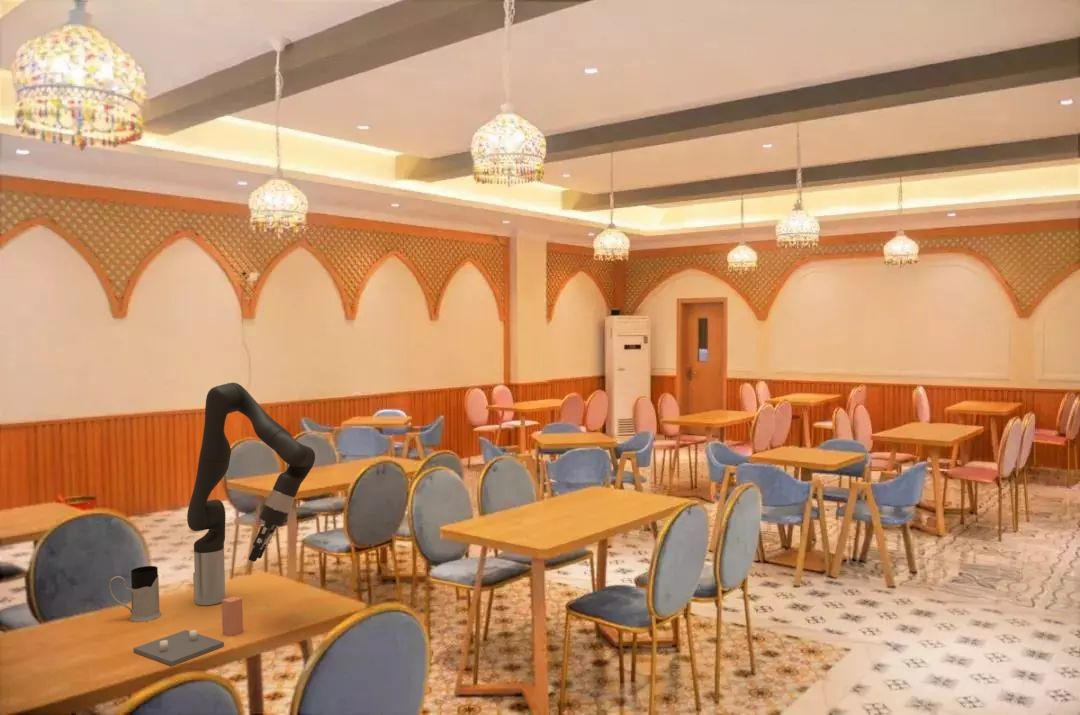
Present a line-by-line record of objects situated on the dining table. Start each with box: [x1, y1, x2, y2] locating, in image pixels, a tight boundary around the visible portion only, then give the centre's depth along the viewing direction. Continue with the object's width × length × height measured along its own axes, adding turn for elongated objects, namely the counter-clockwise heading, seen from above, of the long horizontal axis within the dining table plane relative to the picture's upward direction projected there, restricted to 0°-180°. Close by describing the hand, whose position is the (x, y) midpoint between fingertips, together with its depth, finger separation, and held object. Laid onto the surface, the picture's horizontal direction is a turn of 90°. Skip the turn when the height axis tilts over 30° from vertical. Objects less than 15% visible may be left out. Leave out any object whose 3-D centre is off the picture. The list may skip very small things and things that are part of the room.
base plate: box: [132, 629, 225, 667], centre depth 231 cm, size 18×16×4 cm
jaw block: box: [221, 595, 244, 637], centre depth 243 cm, size 4×4×10 cm
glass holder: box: [109, 565, 162, 623], centre depth 257 cm, size 9×14×15 cm, turn 112°
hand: (254, 559), depth 245 cm, fingers open, 8 cm apart
